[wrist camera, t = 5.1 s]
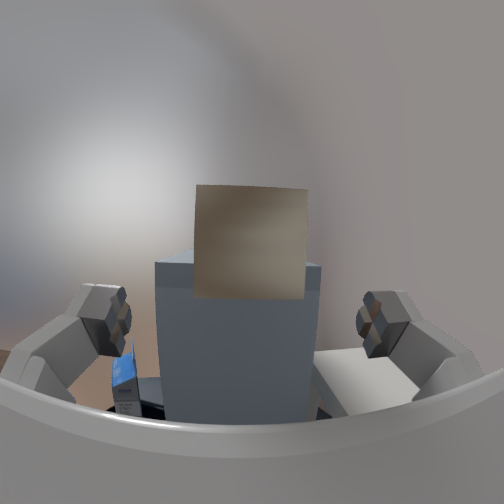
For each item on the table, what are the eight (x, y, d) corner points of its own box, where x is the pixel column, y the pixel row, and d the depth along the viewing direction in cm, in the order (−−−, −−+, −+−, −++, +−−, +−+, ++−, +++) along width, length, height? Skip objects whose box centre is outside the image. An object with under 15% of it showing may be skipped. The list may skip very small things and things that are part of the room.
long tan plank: (157, 295, 7) (163, 149, 7) (210, 251, 28) (211, 211, 28) (337, 298, 8) (341, 158, 7) (259, 252, 29) (261, 213, 28)
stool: (321, 552, 13) (373, 451, 12) (291, 457, 28) (306, 352, 28) (396, 530, 13) (465, 417, 12) (348, 448, 29) (373, 346, 28)
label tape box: (118, 402, 38) (107, 336, 37) (141, 401, 39) (132, 335, 39) (120, 434, 30) (104, 360, 29) (147, 432, 32) (135, 359, 31)
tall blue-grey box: (186, 516, 18) (154, 261, 16) (196, 431, 33) (190, 248, 32) (285, 516, 18) (321, 266, 17) (266, 432, 34) (277, 251, 33)
